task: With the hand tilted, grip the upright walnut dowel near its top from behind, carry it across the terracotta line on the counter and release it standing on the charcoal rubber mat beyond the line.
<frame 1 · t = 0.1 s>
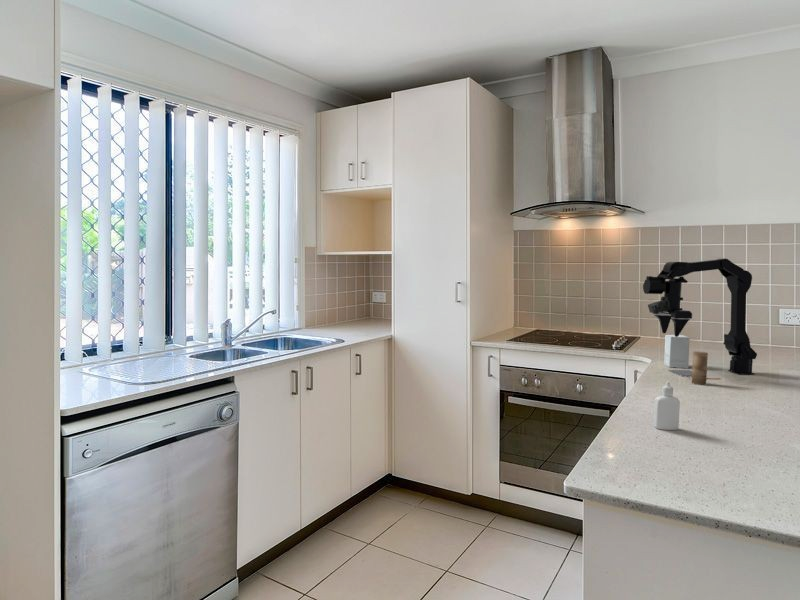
hand: (670, 334, 201), 15 cm above the worktop, tool pointing down, fingers open, 9 cm apart
eye dropper bottle: (665, 429, 133), on the worktop
supplement box: (675, 366, 214), on the worktop
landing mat: (685, 373, 199), on the worktop
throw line: (702, 378, 191), on the worktop
pin: (698, 383, 183), on the worktop
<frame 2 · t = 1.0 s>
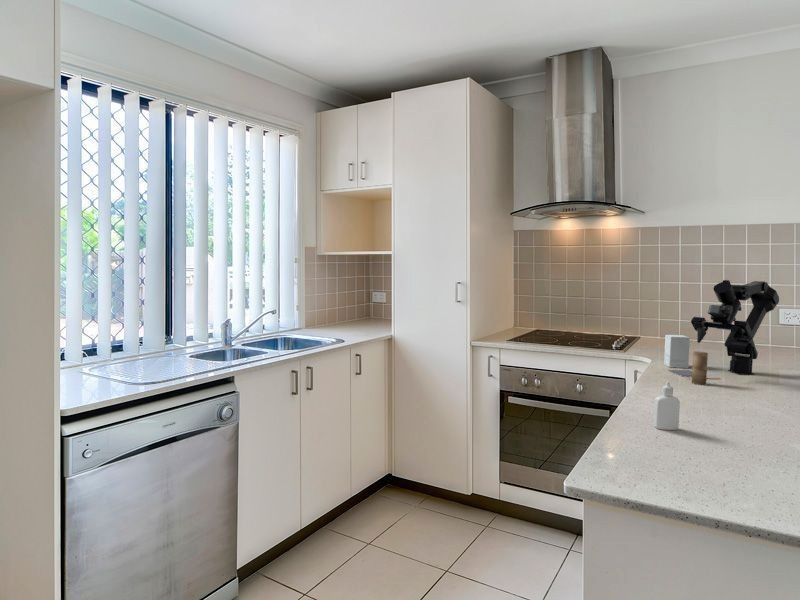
hand: (711, 344, 187), 13 cm above the worktop, tool tilted 45°, fingers open, 9 cm apart
nothing on the worktop moved.
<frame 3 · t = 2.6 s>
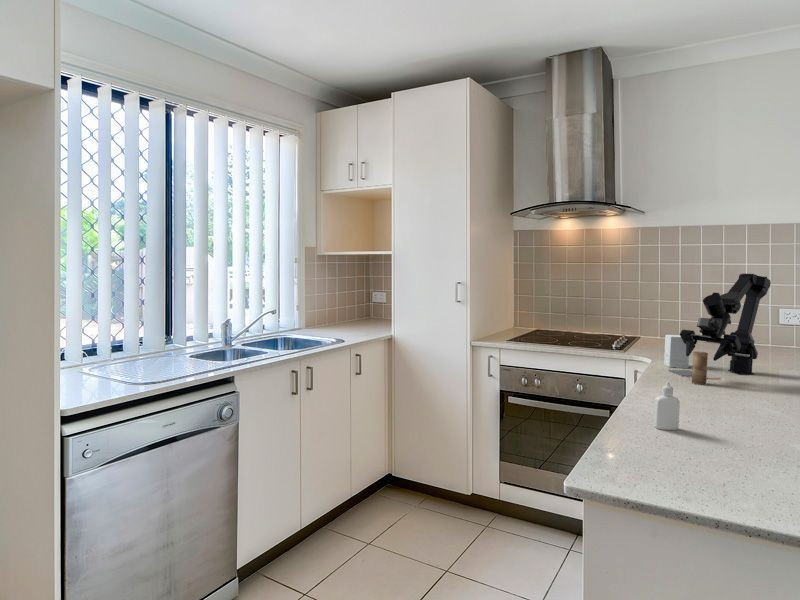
hand: (700, 357, 183), 9 cm above the worktop, tool tilted 45°, fingers open, 9 cm apart
nothing on the worktop moved.
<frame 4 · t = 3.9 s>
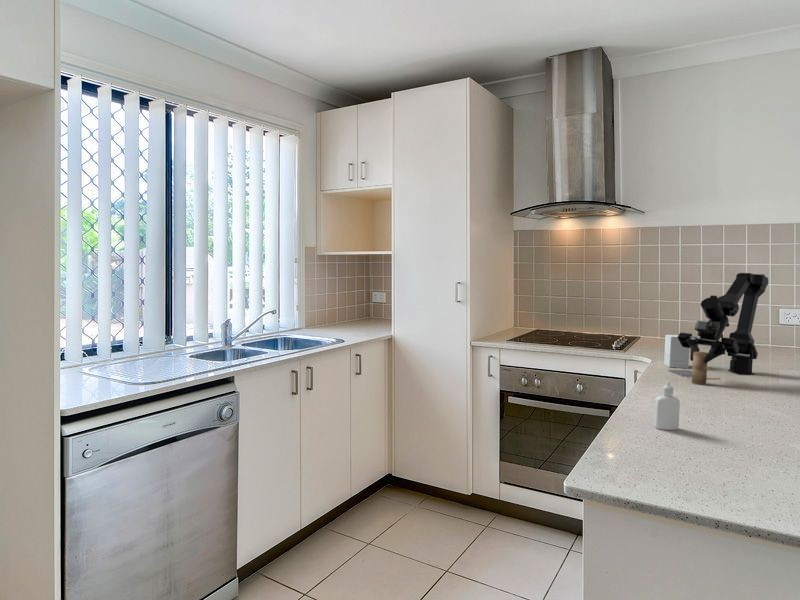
hand: (698, 361, 182), 8 cm above the worktop, tool tilted 45°, fingers closed on pin, 4 cm apart
pin: (698, 383, 183), on the worktop, touching gripper
everything else where it was.
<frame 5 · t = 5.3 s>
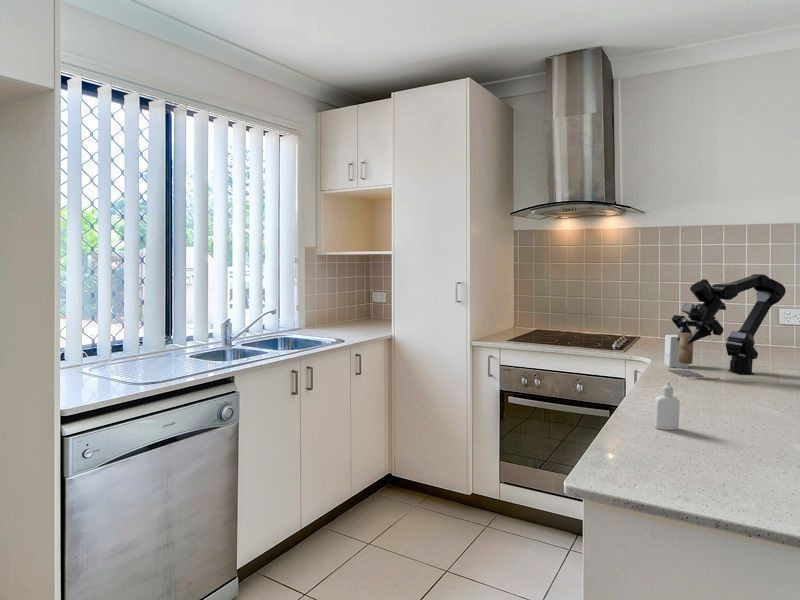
hand: (683, 341, 192), 13 cm above the worktop, tool tilted 45°, fingers closed on pin, 4 cm apart
pin: (685, 362, 193), point 5 cm above the worktop, touching gripper
everything else where it was.
when the fingers open (9 cm above the worktop, at t = 7.2 s): pin stays where it is, resting on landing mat.
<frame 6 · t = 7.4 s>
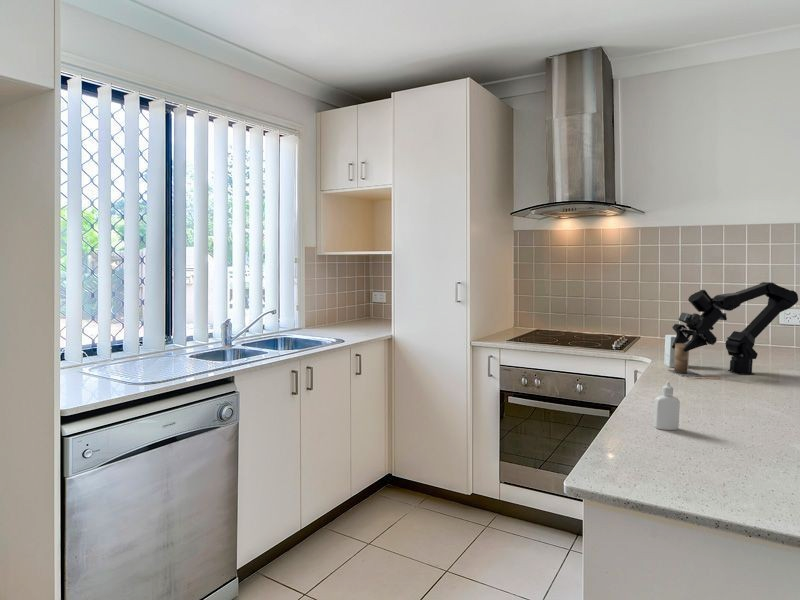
hand: (678, 349, 199), 9 cm above the worktop, tool tilted 45°, fingers open, 6 cm apart
pin: (680, 372, 199), resting on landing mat
everything else where it was.
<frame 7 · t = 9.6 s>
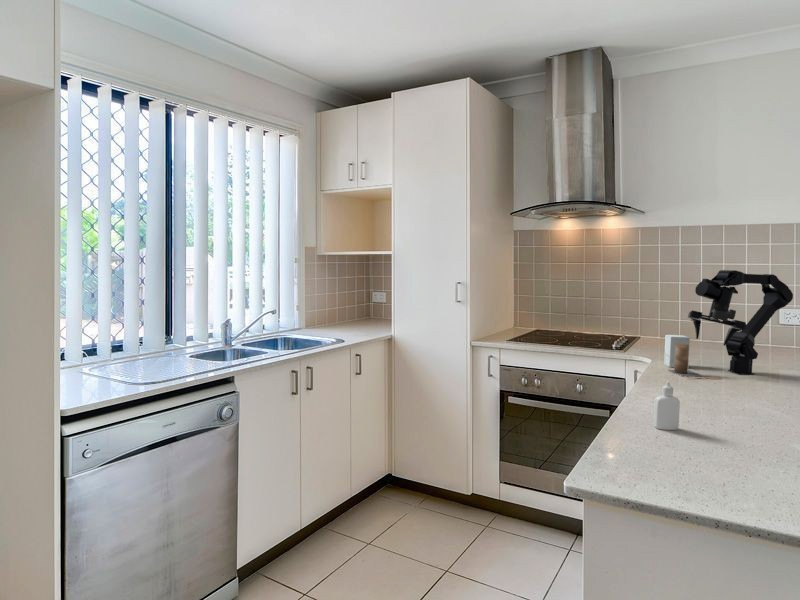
hand: (710, 342, 198), 12 cm above the worktop, tool pointing down, fingers open, 9 cm apart
nothing on the worktop moved.
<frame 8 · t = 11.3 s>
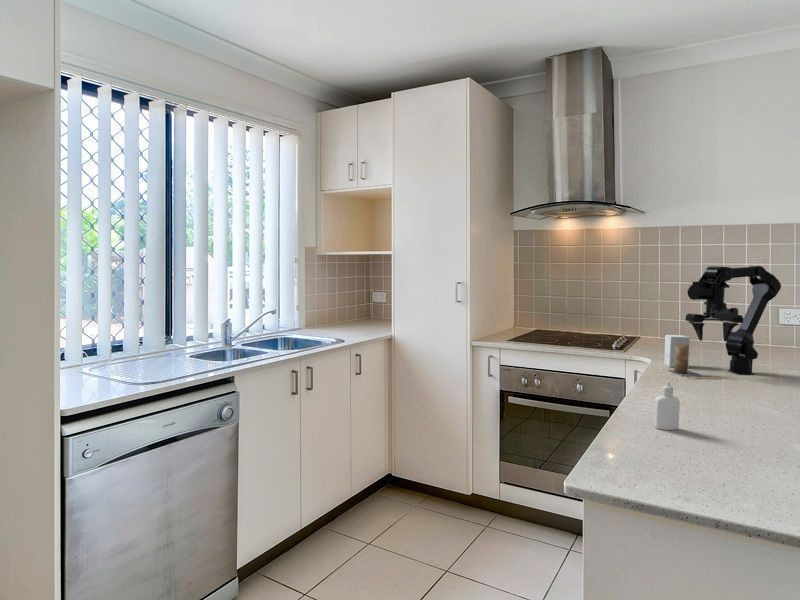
hand: (712, 340, 197), 13 cm above the worktop, tool pointing down, fingers open, 9 cm apart
nothing on the worktop moved.
at the end: pin inside the target area (1.1 cm from its centre), resting on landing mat; pin tilted 0°; the gripper is holding nothing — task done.
